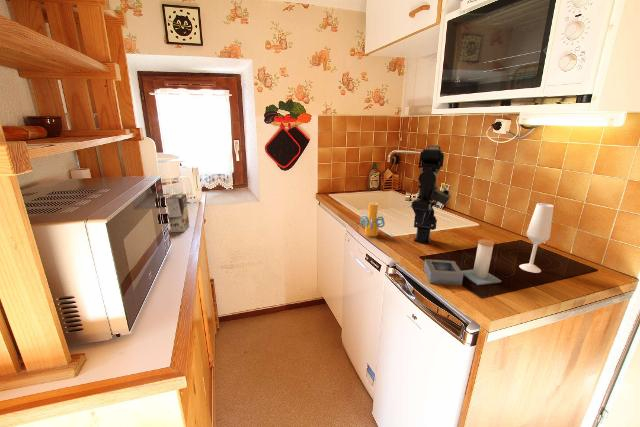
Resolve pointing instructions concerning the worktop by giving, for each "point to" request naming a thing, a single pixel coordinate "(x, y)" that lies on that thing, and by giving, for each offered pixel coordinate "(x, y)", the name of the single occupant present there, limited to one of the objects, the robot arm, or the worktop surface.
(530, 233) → the champagne flute
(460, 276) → the frame
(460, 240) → the worktop surface
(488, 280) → the pad
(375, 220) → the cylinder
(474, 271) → the plug
